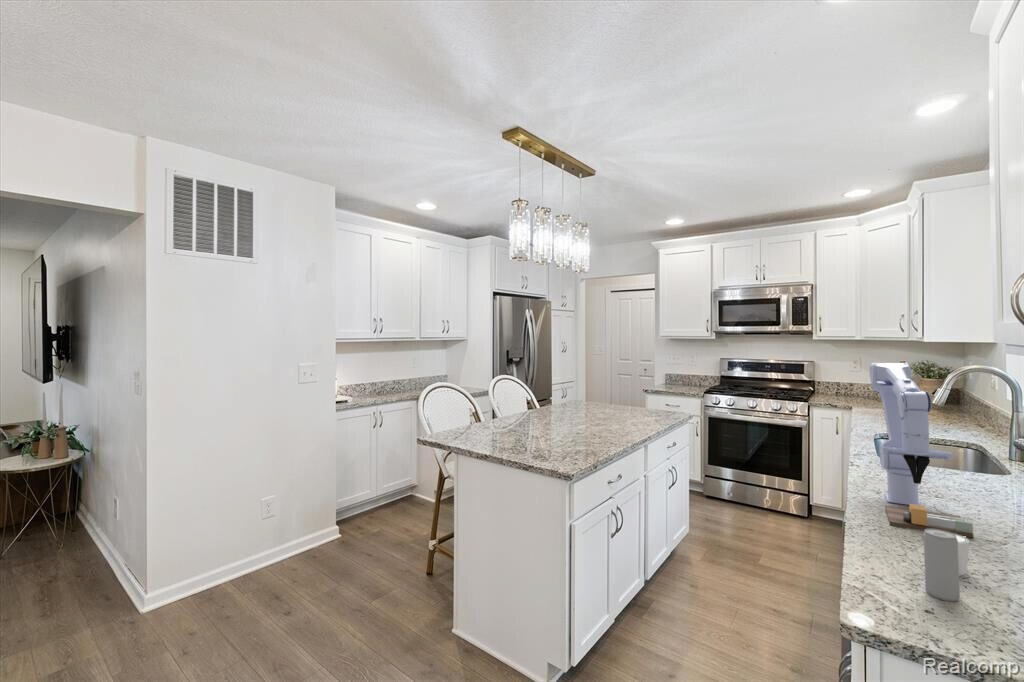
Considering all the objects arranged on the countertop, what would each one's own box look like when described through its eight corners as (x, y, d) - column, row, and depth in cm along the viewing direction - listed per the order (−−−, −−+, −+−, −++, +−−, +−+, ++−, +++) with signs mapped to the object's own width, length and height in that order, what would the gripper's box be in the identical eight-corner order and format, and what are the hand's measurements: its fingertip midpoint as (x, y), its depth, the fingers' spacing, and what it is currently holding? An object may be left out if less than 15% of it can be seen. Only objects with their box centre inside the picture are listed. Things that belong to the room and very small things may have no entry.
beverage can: (966, 603, 85) (964, 539, 85) (936, 601, 86) (934, 537, 86) (948, 590, 90) (945, 528, 90) (919, 588, 91) (917, 527, 91)
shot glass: (928, 558, 103) (926, 527, 104) (971, 568, 99) (969, 535, 99) (925, 569, 99) (924, 536, 99) (970, 580, 94) (969, 545, 94)
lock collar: (909, 518, 124) (909, 503, 124) (924, 520, 122) (923, 505, 122) (911, 523, 120) (911, 508, 121) (927, 525, 119) (926, 510, 119)
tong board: (885, 508, 135) (884, 497, 135) (960, 519, 126) (960, 507, 126) (889, 525, 123) (889, 512, 123) (973, 538, 113) (973, 524, 114)
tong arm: (912, 519, 123) (912, 511, 123) (963, 525, 118) (963, 518, 118) (913, 520, 122) (913, 513, 122) (965, 527, 117) (964, 519, 117)
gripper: (883, 434, 130) (885, 482, 130) (953, 439, 121) (955, 490, 121) (881, 430, 136) (882, 476, 135) (948, 434, 127) (950, 484, 127)
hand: (917, 482), depth 129 cm, fingers closed
